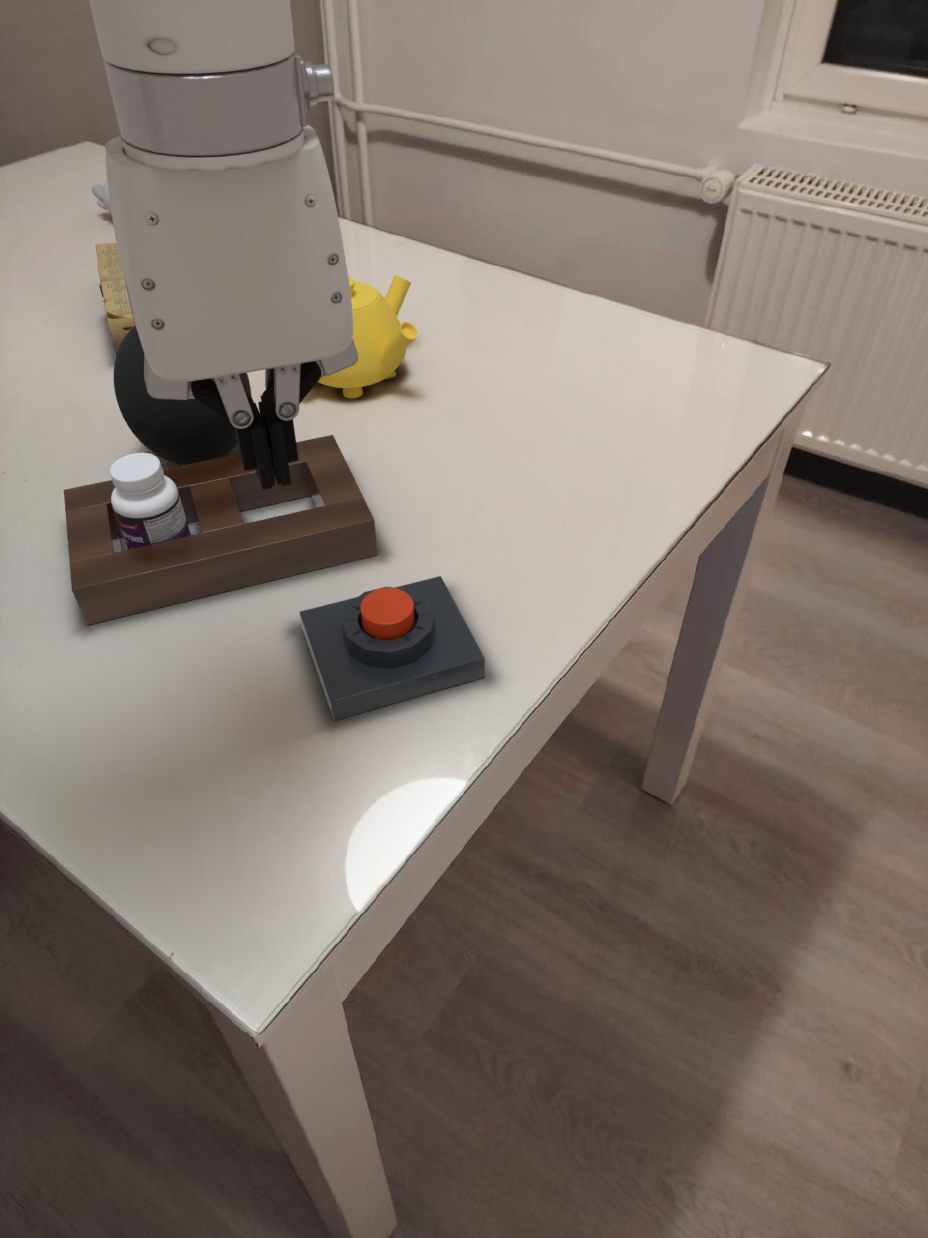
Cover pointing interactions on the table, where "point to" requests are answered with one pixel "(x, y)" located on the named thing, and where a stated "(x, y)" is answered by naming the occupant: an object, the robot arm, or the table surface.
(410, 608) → the button
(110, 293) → the book
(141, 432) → the decorative egg
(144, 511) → the pill bottle
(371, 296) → the teapot
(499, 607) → the table surface
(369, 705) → the dark grey flat piece
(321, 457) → the dock
